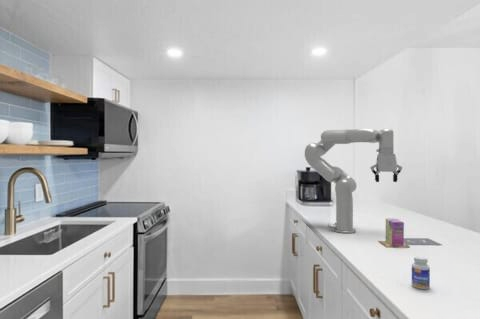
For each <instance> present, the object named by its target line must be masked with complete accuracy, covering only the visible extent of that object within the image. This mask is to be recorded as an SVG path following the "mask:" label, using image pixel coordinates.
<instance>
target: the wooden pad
mask: <svg viewBox="0 0 480 319" xmlns="http://www.w3.org/2000/svg"><path fill="white" fill-rule="evenodd" d="M378 243H379V244H381V245H382V246H384V247H385V248H399V249H400V248H402V249H403V248H405V249H406V248H407V249H408V248H409V249H411V247H410V246H411V245H406V244H404V245H403V246H392V245H391V244H389V243H388V242H387V241H386V240H378Z"/></svg>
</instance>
